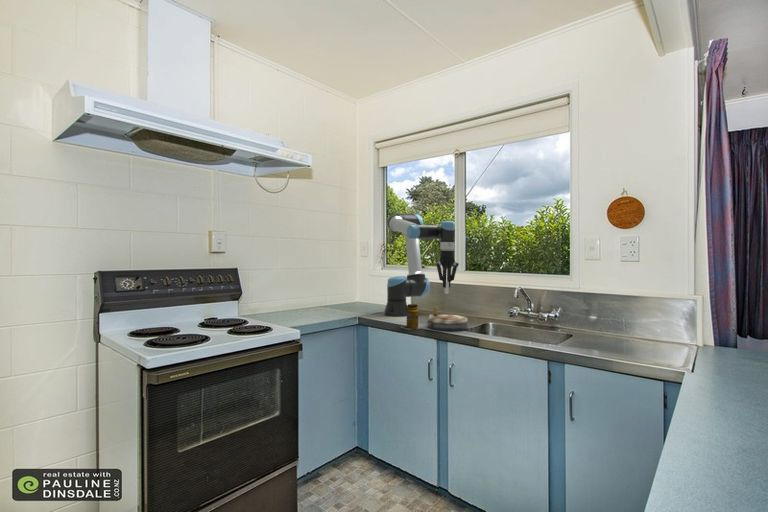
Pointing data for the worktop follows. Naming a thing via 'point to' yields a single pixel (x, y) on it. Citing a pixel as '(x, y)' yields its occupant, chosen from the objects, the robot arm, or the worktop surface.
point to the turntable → (446, 318)
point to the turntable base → (447, 326)
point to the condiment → (412, 317)
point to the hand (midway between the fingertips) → (446, 293)
